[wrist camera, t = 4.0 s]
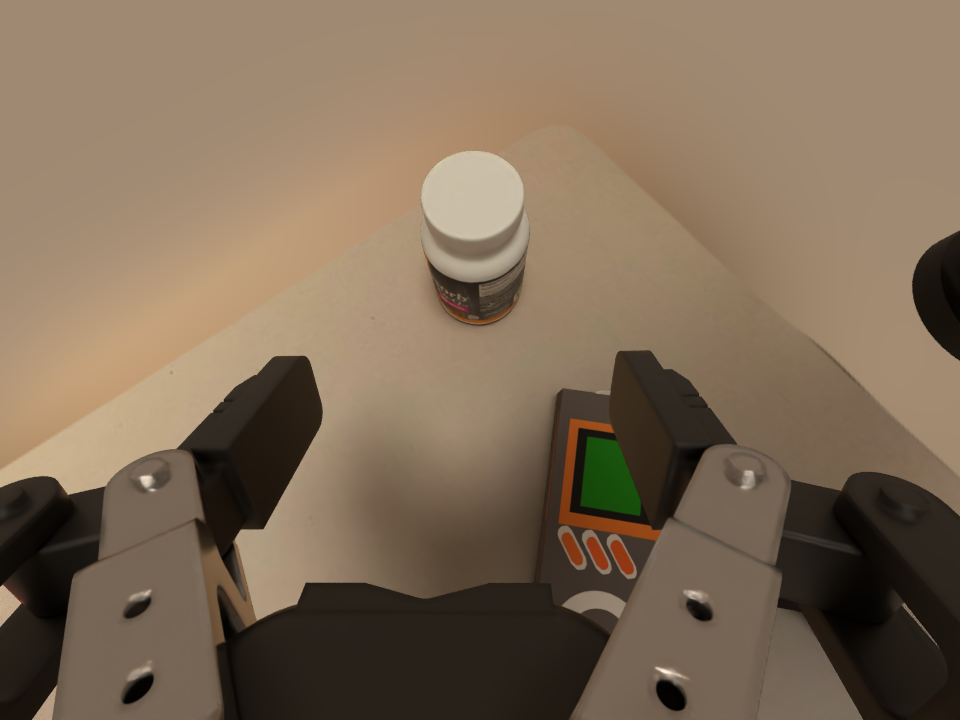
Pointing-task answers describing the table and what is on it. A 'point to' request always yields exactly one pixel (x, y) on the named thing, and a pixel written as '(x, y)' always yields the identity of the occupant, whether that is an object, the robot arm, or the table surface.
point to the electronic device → (591, 513)
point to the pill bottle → (475, 235)
